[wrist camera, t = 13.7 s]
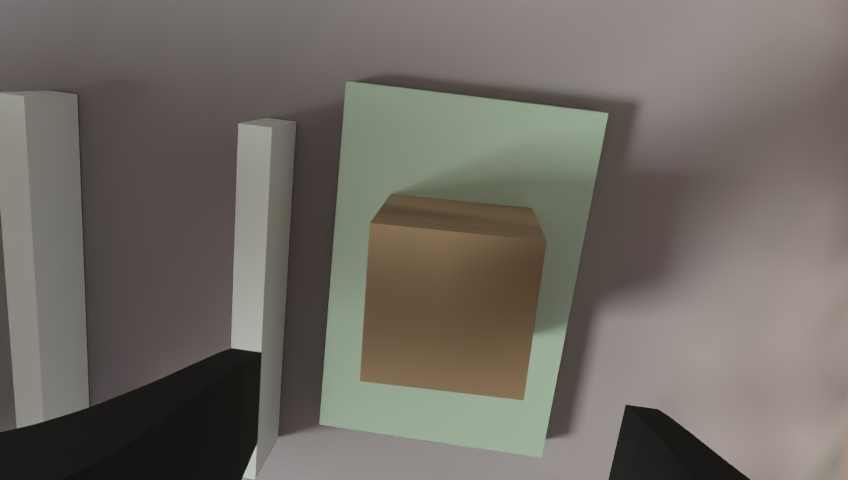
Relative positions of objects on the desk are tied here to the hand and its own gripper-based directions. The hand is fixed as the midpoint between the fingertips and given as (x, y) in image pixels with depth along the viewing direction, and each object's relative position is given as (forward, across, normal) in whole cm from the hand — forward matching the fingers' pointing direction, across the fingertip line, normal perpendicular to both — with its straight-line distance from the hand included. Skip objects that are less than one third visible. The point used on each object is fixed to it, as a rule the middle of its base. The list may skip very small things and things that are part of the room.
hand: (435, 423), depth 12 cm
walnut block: (+8, 0, 0) cm, 8 cm away
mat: (+9, 0, 0) cm, 9 cm away
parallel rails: (+9, +10, +2) cm, 14 cm away
